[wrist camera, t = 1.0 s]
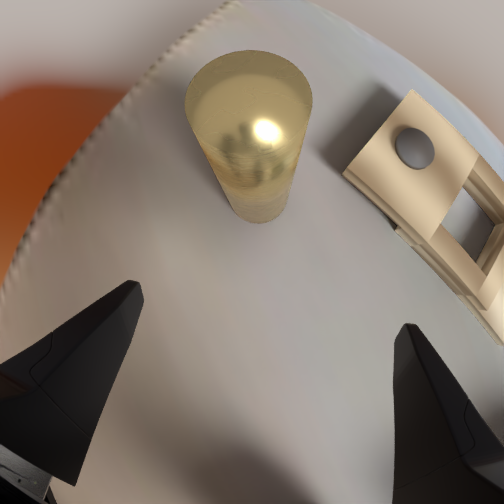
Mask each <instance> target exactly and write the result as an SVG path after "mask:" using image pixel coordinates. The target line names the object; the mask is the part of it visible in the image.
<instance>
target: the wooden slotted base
mask: <svg viewBox="0 0 504 504" xmlns="http://www.w3.org/2000/svg"><path fill="white" fill-rule="evenodd" d="M342 176H343V177H344V178H345V179H347V180H348V181H349V182H350V183H351V184H352V185H353V186H355V187H356V188H357V189H358V190H359V191H360V192H361V193H363V194H364V195H365V196H366V197H367V198H368V199H369V200H370V201H372V202H373V203H374V204H375V205H376V206H377V207H378V208H379V209H380V210H381V211H382V212H384V213H385V214H386V215H387V216H388V217H389V218H390V219H391V220H392V221H393V222H394V223H395V224H396V225H397V227H396V229H395V230H394V231H395V232H396V233H397V234H398V235H399V236H400V237H401V238H403V239H404V240H405V241H406V242H407V243H408V244H409V245H410V246H411V247H412V248H413V249H414V250H415V251H416V252H417V253H418V254H419V255H420V256H421V257H422V259H423V260H424V261H425V262H426V263H427V264H428V265H429V266H430V267H431V268H432V269H433V270H434V271H435V272H436V273H437V274H438V275H439V276H440V277H441V279H442V280H443V281H444V282H445V283H446V284H447V285H448V286H449V287H450V288H451V289H452V291H453V292H454V293H455V294H456V295H457V296H458V297H459V298H460V300H461V301H462V302H463V303H464V304H465V305H466V306H467V308H468V309H469V310H470V311H471V312H472V313H473V315H474V316H475V317H476V318H477V319H478V321H479V322H480V323H481V324H482V326H483V327H484V328H485V329H486V330H487V332H488V333H489V334H490V335H491V337H492V338H493V339H494V340H495V342H496V343H497V344H498V345H500V346H504V182H503V181H502V179H501V178H500V177H499V176H498V175H497V173H496V172H495V171H494V170H493V169H492V167H491V166H490V165H489V164H488V163H487V162H486V160H485V159H484V158H483V157H482V156H481V155H480V154H479V153H478V152H477V150H476V149H475V148H474V147H473V146H472V145H471V144H470V143H469V142H468V141H467V140H466V139H465V138H464V137H463V136H462V135H461V134H460V133H459V132H458V131H457V130H456V129H455V128H454V127H453V126H452V125H451V124H450V123H449V122H448V121H447V120H446V119H445V118H444V117H443V116H442V115H441V114H440V113H439V112H438V111H436V110H435V109H434V108H433V107H432V106H431V105H430V104H429V103H428V102H426V101H425V100H424V99H423V98H422V97H421V96H419V95H418V94H417V93H416V92H415V91H414V90H412V89H411V91H410V92H409V93H408V94H407V95H406V97H405V98H404V99H403V100H402V102H401V103H400V104H399V105H398V106H397V108H396V109H395V110H394V111H393V113H392V114H391V115H390V116H389V117H388V119H387V120H386V121H385V122H384V123H383V125H382V126H381V127H380V128H379V130H378V131H377V132H376V133H375V134H374V136H373V137H372V138H371V139H370V140H369V142H368V143H367V144H366V145H365V146H364V148H363V149H362V150H361V151H360V152H359V154H358V155H357V156H356V157H355V158H354V160H353V161H352V162H351V163H350V164H349V165H348V167H347V168H346V169H345V171H344V172H343V173H342ZM462 187H463V188H464V189H465V190H466V191H467V192H468V193H469V194H470V195H471V197H472V198H473V199H474V200H475V201H476V202H477V204H478V205H479V206H480V207H481V208H482V209H483V211H484V212H485V213H486V214H487V216H488V217H489V218H490V219H491V220H492V222H493V223H494V224H495V226H494V228H493V230H492V232H491V234H490V236H489V238H488V240H487V242H486V244H485V246H484V248H483V250H482V252H481V253H480V255H479V257H478V259H477V261H476V262H474V261H473V260H472V258H471V257H470V256H469V255H468V254H467V252H466V251H465V250H464V249H463V248H462V247H461V246H460V244H459V243H458V242H457V241H456V240H455V239H454V238H453V237H452V235H451V234H450V233H449V232H448V231H447V230H446V229H445V228H444V227H443V226H442V225H441V224H440V223H441V221H442V220H443V218H444V217H445V215H446V213H447V212H448V210H449V208H450V207H451V205H452V203H453V202H454V200H455V198H456V197H457V195H458V193H459V191H460V190H461V188H462Z"/></svg>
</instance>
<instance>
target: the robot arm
mask: <svg viewBox="0 0 504 504" xmlns="http://www.w3.org/2000/svg"><path fill="white" fill-rule="evenodd" d="M143 303H144V298H143V293H142V289H141V285H140V283H139V282H137V281H133V280H127V281H126V282H124V283H123V284H121V285H119V286H118V287H116V288H115V289H113V290H112V291H110V292H109V293H107V294H106V295H104V296H103V297H102V298H100V299H99V300H97V301H96V302H94V303H93V304H91V305H90V306H88V307H87V308H85V309H84V310H82V311H81V312H79V313H78V314H77V315H75V316H74V317H72V318H71V319H69V320H68V321H66V322H65V323H64V324H62V325H61V326H59V327H58V328H56V329H55V330H54V331H53V332H51V333H49V334H48V335H46V336H45V337H44V338H42V339H41V340H39V341H38V342H36V343H35V344H33V345H32V346H30V347H28V348H27V349H25V350H24V351H22V352H20V353H18V354H17V355H15V356H13V357H12V358H10V359H8V360H7V361H5V362H3V363H2V364H0V504H57V503H56V500H55V498H54V496H53V493H52V491H51V488H50V486H49V485H50V482H51V480H52V477H53V476H54V477H56V478H58V479H60V480H62V481H64V482H66V483H68V484H70V485H72V486H74V487H75V485H76V483H77V480H78V477H79V474H80V471H81V468H82V465H83V462H84V459H85V457H86V454H87V451H88V448H89V445H90V443H91V439H92V437H93V434H94V431H95V429H96V426H97V423H98V421H99V418H100V416H101V413H102V410H103V408H104V405H105V403H106V400H107V398H108V395H109V393H110V390H111V388H112V386H113V383H114V381H115V378H116V376H117V374H118V371H119V369H120V367H121V364H122V362H123V360H124V357H125V355H126V353H127V350H128V348H129V346H130V343H131V341H132V338H133V335H134V332H135V328H136V325H137V322H138V319H139V316H140V313H141V310H142V307H143ZM393 395H394V423H395V459H394V486H393V490H394V491H393V500H392V504H504V447H503V445H502V444H501V442H500V441H499V440H498V438H497V437H496V436H495V434H494V433H493V432H492V431H491V429H490V428H489V427H488V425H487V424H486V422H485V421H484V420H483V418H482V417H481V416H480V414H479V413H478V411H477V410H476V408H475V407H474V405H473V404H472V402H471V401H470V399H468V396H467V395H466V393H465V392H464V390H463V389H462V387H461V386H460V384H459V383H458V381H457V380H456V378H455V377H454V376H453V374H452V373H451V371H450V370H449V368H448V367H447V366H446V364H445V363H444V361H443V360H442V359H441V357H440V356H439V354H438V353H437V352H436V350H435V349H434V347H433V346H432V345H431V343H430V342H429V341H428V339H427V338H426V337H425V335H424V334H423V333H422V331H421V330H420V329H419V327H418V326H417V325H416V324H410V323H405V324H404V325H403V327H402V328H401V330H400V332H399V333H398V335H397V337H396V339H395V342H394V371H393Z"/></svg>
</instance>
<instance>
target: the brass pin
mask: <svg viewBox="0 0 504 504" xmlns="http://www.w3.org/2000/svg"><path fill="white" fill-rule="evenodd" d="M311 109H312V92H311V88H310V85H309V83H308V81H307V79H306V77H305V76H304V75H303V73H302V72H301V71H300V70H299V69H298V68H297V67H296V66H295V65H294V64H292V63H291V62H290V61H288V60H286V59H285V58H282V57H280V56H278V55H275V54H273V53H269V52H264V51H256V50H246V51H237V52H232V53H229V54H226V55H223V56H220V57H218V58H216V59H214V60H212V61H211V62H209V63H208V64H206V65H205V66H204V67H203V68H202V69H201V70H200V71H199V72H198V73H197V74H196V75H195V76H194V78H193V79H192V81H191V83H190V84H189V86H188V89H187V92H186V96H185V113H186V117H187V120H188V122H189V124H190V126H191V128H192V130H193V132H194V134H195V136H196V138H197V140H198V142H199V144H200V146H201V148H202V149H203V151H204V153H205V155H206V157H207V159H208V161H209V163H210V165H211V167H212V169H213V171H214V173H215V175H216V177H217V179H218V181H219V183H220V185H221V187H222V189H223V191H224V193H225V195H226V197H227V199H228V201H229V202H230V204H231V206H232V208H233V210H234V212H235V213H236V214H237V215H238V216H239V217H240V218H242V219H243V220H245V221H248V222H251V223H266V222H269V221H271V220H273V219H275V218H276V217H277V216H279V215H280V213H281V212H282V211H283V209H284V207H285V205H286V202H287V199H288V195H289V191H290V188H291V184H292V181H293V177H294V173H295V170H296V166H297V162H298V159H299V155H300V151H301V148H302V144H303V140H304V136H305V133H306V129H307V125H308V121H309V118H310V114H311Z"/></svg>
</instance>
